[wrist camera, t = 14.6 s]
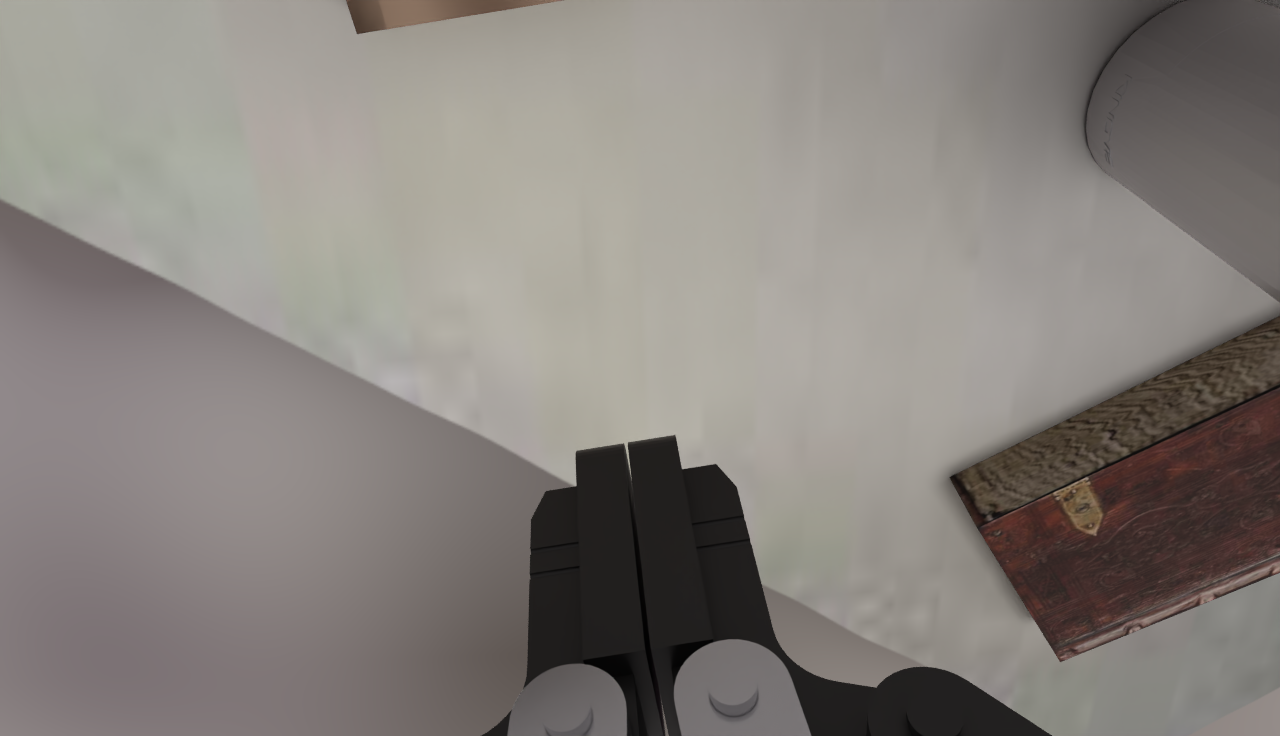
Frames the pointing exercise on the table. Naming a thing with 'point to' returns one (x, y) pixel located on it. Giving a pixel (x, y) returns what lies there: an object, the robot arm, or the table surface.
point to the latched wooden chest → (1141, 498)
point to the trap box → (422, 11)
